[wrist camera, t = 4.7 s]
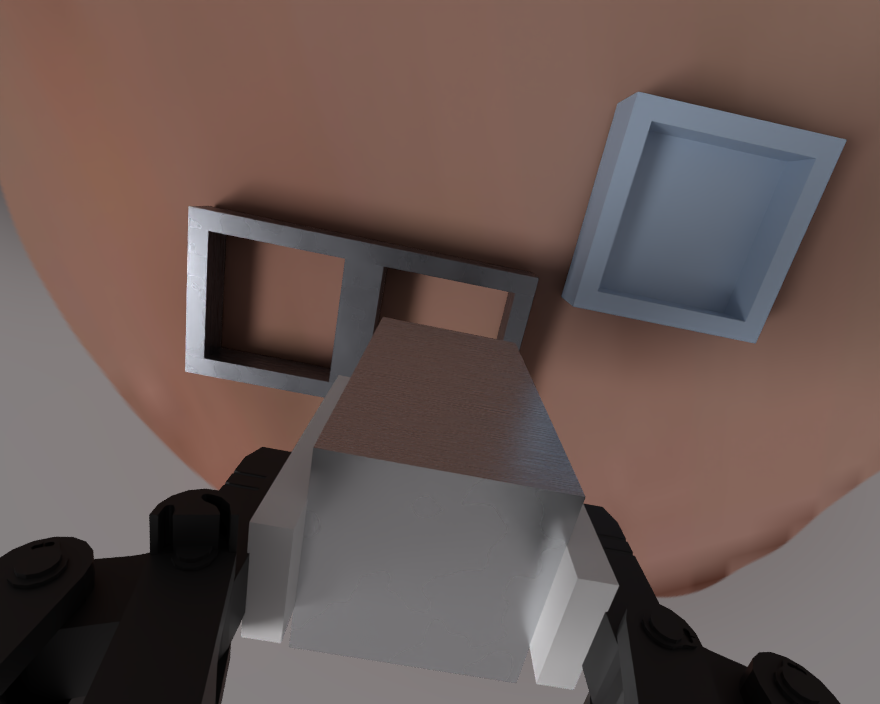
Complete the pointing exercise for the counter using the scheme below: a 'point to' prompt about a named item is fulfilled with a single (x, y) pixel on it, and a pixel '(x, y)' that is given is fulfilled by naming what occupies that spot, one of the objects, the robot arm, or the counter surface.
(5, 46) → the counter surface
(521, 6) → the counter surface
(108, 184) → the counter surface
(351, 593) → the grey rectangular block
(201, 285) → the rack frame
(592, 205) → the parts tray
